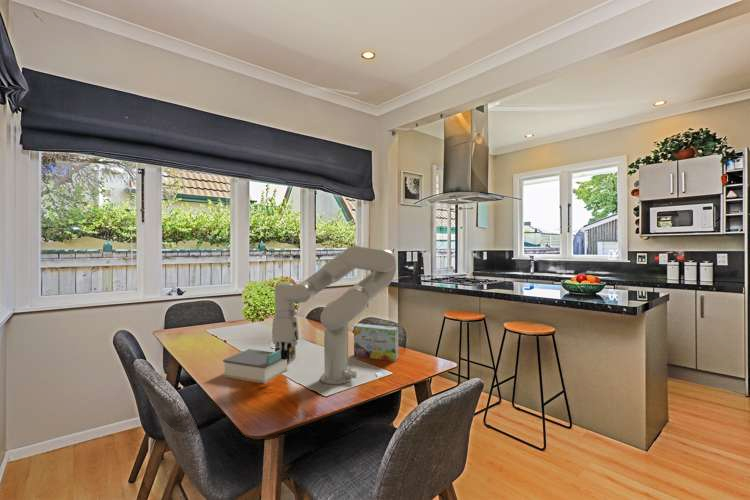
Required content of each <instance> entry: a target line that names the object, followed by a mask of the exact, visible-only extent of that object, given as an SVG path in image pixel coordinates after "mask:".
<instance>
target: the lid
mask: <svg viewBox="0 0 750 500" xmlns="http://www.w3.org/2000/svg"><path fill="white" fill-rule="evenodd" d="M280 360H282V359H281V350H278V351H276V352H275V351H274V352H272V351H267V350H259V349H250V348H248V349H246V350H244V351H241V352H238V353H236V354H234V355H232V356H228V357H227V358H225V359H222V362H223V363H225V362H227V363H233V364H240V365H246V366H253V367H259V368H266V367H268V366H270V365H272V364H274V363H276V362H278V361H280Z"/></svg>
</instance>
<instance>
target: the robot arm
mask: <svg viewBox="0 0 750 500" xmlns="http://www.w3.org/2000/svg"><path fill="white" fill-rule="evenodd" d="M396 261H397V260H396V256H395V254H394V252H393V251H392V250H390V249H388V248H387V249H386V248H383V249H381V248H380V249H379V248H372V247H364V246H361V245H359V244H354V245H351V246H348V247H347V248H346V249H345V250H344V251H342V252H341V253H339V254H337V255H336V256H335V257H333V258H332V259H330V260H329V261H328V262H326V263H324V265H322V267H321V268H320V269H319V270H317V271H316V272H315V273H314V274H312V275H310V276H309V277H308V278H307V279H305V280H303V281H301V282H300V283H297V284H294V283H291V282H279V283H276V284H275V286H274V305H275V306H274V313H275V314H274V315H275V316H274V317H273V321H272V331H271V334H272V337H271V338H272V341H273V344H274V345H275V344H277V345H278V346H279V348H280V349H281V359H284V360H286V359H288V358H289V348H291V346H295V347H296V346H297V345H298V342H297V341H298V340H299V338H300V337H299V336H300V335H299V324H298V319H297V317H296V315H297V311H295V303H301V304H302V303H306V302H308V301H309V300H310V299H311V298H313V297H314V296H316V295H317V294H319V293H320V292H321V291H322V290H324V289H326V288H327V287H329V286H330V285H332V284H333V285H334V283H337V282H339V281H340V280H341V279H343V278H344V277H346V276H348V275H349V274H350V273H351V272H353V271H355V270H356V269H358V270H362V271H372V272H370V273H369V274H367V276H365V277H364V278H363V279H361V280H360V281H359V282H357V283H355V285H353V286H351V287H349V288H348V290H346V291H345V292H344V293H343V294H342V295H340V296H339V297H338V298H336V299H335V300H332V301H329V302H328V303H327V304H326V305H325V307H324V308H323V309H322V311H321V313H320V324H321V325H322V327H324V330H323V331H324V337H323V338H324V340H323V341H324V344H323V345H324V346H323V347H324V349H323V350H324V351H323V352H324V355H323V356H324V373H322V374H321V375H320V380H321V382H322V383H324V384H327V385H344V384H347V383H349V382H350V381H352V379H356V380H357V377H358V374H357V371H354V370H352V369H351V366H349V323H350V322H351V321H352V320H353V319H355V318H356V317H358V316H359V315H360V314H361V313H362V312H363V311H364V310H365V309H366V308H367V306H368V304H369V302H371V301H372V300H373V299H374V298H376V297H377V296H378V295H379V294H380V293H381V292H383V291H384V290H385V289H386V288H387V287H389V286H390V284H391V283H392V281H393V280H394V277H395V275H396V269H397V263H396Z"/></svg>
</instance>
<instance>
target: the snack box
mask: <svg viewBox="0 0 750 500" xmlns="http://www.w3.org/2000/svg"><path fill="white" fill-rule="evenodd" d="M353 356H354V357H360V358H368V359H374V360H381V361H388V362H396V361H397V360H398V359H399V327H398V326H395V327H394V326H387V325H386V326H385V325H378V324H377V325H375V324H367V323H356V324H354V325H353Z"/></svg>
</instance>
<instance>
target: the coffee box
mask: <svg viewBox="0 0 750 500" xmlns="http://www.w3.org/2000/svg"><path fill="white" fill-rule="evenodd" d="M296 347H297V346H296V345H295V346H291V348H289V358H288V359H287V365H289V364H290V363H292V362H293V361H294V360H295V359H296V355H297V354H296V350H297V349H296ZM278 350H281V349H280V348H279V346H278V345H277V344H275V343H274V352H276V351H278Z"/></svg>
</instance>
